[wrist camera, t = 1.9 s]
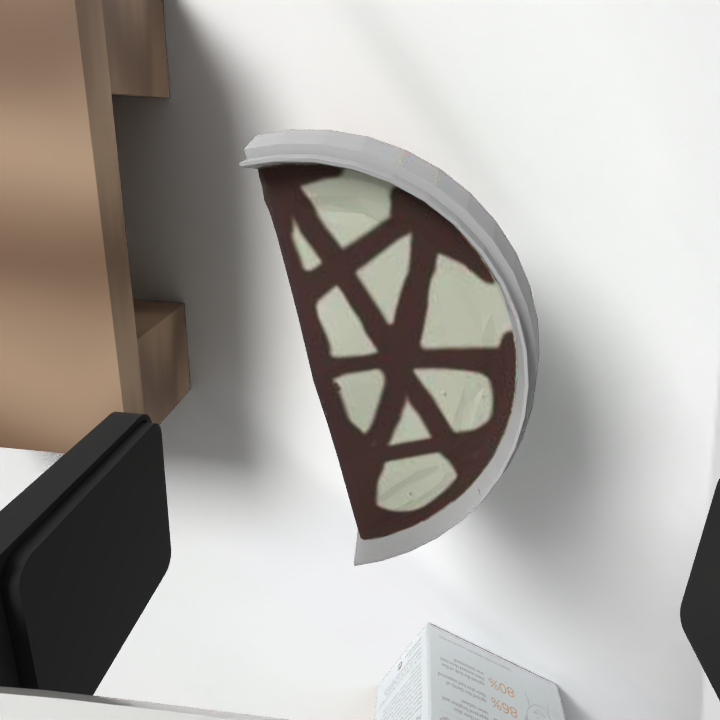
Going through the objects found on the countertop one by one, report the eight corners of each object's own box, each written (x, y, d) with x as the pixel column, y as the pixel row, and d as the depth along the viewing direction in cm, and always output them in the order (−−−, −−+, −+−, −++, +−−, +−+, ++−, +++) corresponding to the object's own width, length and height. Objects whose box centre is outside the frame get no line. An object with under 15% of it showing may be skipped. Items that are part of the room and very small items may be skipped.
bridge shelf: (-107, -35, 22) (-289, -87, 16) (160, -28, 21) (65, -80, 15) (-20, 371, 28) (-132, 434, 22) (190, 389, 27) (129, 459, 21)
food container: (524, 398, 26) (578, 556, 16) (382, 420, 27) (358, 581, 17) (478, 88, 21) (516, 64, 12) (311, 129, 22) (231, 138, 13)
